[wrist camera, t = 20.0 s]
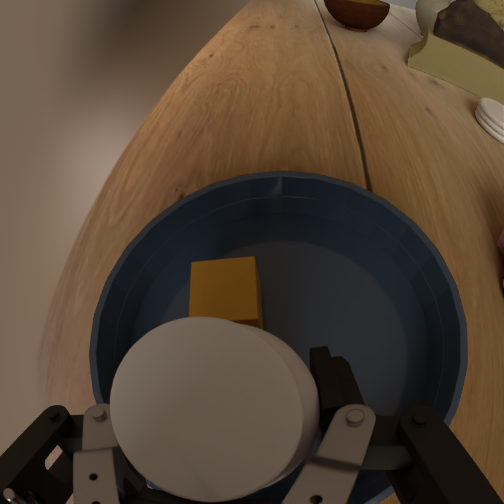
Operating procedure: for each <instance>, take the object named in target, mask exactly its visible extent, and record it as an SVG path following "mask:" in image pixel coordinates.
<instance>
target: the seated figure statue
mask: <svg viewBox="0 0 504 504" xmlns="http://www.w3.org/2000/svg"><path fill="white" fill-rule="evenodd" d="M503 27H504V0H456V1H454V2H452V3H450V5H449V6H448V7H447V8H445V9H443V10H441V11H439V12H438V14H437V18H436V21H435V24H434V29H433V28H430V27H427V32H426V35H425V37H424V38H423V39H422V40H421V41H420V42H418V43H415V44H413V45H411V48H410V54H409V59H408V65H407V66H409V67H412V68H414V69H417V70H420V71H423V72H425V73H428V74H430V75H433V76H435V77H438V78H440V79H443V80H445V81H447V82H450V83H452V84H454V85H456V86H458V87H461V88H463V89H465V90H467V91H469V92H471V93H473V94H475V95H477V96H479V97H481V98H483V97H486V98H490V99H493V100H495V101H497V102H499V103H500V104H502V105H503V106H504V31H503V30H502V29H503Z"/></svg>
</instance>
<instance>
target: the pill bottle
mask: <svg viewBox="0 0 504 504" xmlns="http://www.w3.org/2000/svg"><path fill="white" fill-rule="evenodd" d="M110 415H111V420H112V426H113V430H114V433H115V436H116V438H117V441H118V443H119V445H120V447H121V449H122V451H123V452H124V454H125V456H126V457H127V459H128V460H129V461H130V463H131V464H132V465H133V466H134V468H135V469H136V470H137V471H138V472H139V473H140V474H142V475H143V476H144V477H145V478H146V479H147V480H148V481H150V482H151V483H153V484H154V485H156V486H157V487H159V488H160V489H162V490H164V491H166V492H168V493H170V494H173V495H176V496H178V497H181V498H185V499H190V500H194V501H200V502H223V501H230V500H234V499H238V498H242V497H245V496H247V495H250V494H252V493H254V492H256V491H258V490H260V489H262V488H265V487H268V486H270V485H272V484H274V483H276V482H278V481H279V480H281V479H283V478H284V477H286V476H287V475H288V474H290V473H291V472H292V471H293V470H294V469H295V468H296V467H298V465H299V464H300V463H301V462H302V461H303V460H304V458H305V457H306V455H307V454H308V452H309V451H310V449H311V447H312V445H313V443H314V441H315V438H316V435H317V432H318V427H319V422H320V400H319V394H318V390H317V387H316V384H315V381H314V379H313V377H312V375H311V373H310V371H309V369H308V368H307V366H306V365H305V363H304V362H303V361H302V360H301V358H300V357H299V356H298V355H297V353H296V352H295V351H294V350H293V349H292V348H291V347H290V346H288V345H287V344H286V343H285V342H283V341H282V340H280V339H279V338H277V337H276V336H274V335H272V334H270V333H268V332H266V331H264V330H262V329H259V328H256V327H253V326H249V325H244V324H238V323H235V322H232V321H229V320H226V319H220V318H215V317H186V318H181V319H177V320H173V321H170V322H168V323H165V324H163V325H161V326H158V327H156V328H154V329H153V330H151V331H150V332H148V333H147V334H145V335H144V336H143V337H142V338H141V339H140V340H138V341H137V342H136V343H135V344H134V345H133V346H132V347H131V348H130V350H129V351H128V352H127V354H126V355H125V357H124V358H123V360H122V362H121V363H120V365H119V367H118V369H117V372H116V374H115V377H114V380H113V384H112V389H111V395H110Z"/></svg>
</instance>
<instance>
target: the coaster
mask: <svg viewBox="0 0 504 504" xmlns="http://www.w3.org/2000/svg"><path fill="white" fill-rule="evenodd" d="M475 116H476V119H477V120H478V122H479V123H480V125H481V126H482V127H483V128H484V129H485V130H486V131H487V132H488V133H489V134H490V135H491V136H493V137H494V138H495V139H497V140H498V141H499V142H501V143H503V144H504V106H503V105H502V104H500V103H499V102H497V101H495V100H493V99H490V98H486V97H483V98H480V100H479V104H478V105H477V109H476V110H475Z"/></svg>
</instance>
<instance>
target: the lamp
mask: <svg viewBox="0 0 504 504" xmlns="http://www.w3.org/2000/svg"><path fill="white" fill-rule="evenodd" d="M450 1H451V0H418V1H417V3H416V8H415V9H416V18H417V22H418V25H419V28H420V30H421V35H423V36H424V37H425V35H426V32H427V27H430V28H433V29H434V24H435V21H436V18H437V14H438V12H439V11H441V10H443V9H445V8H447V7H448V6H449V3H450Z"/></svg>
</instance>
